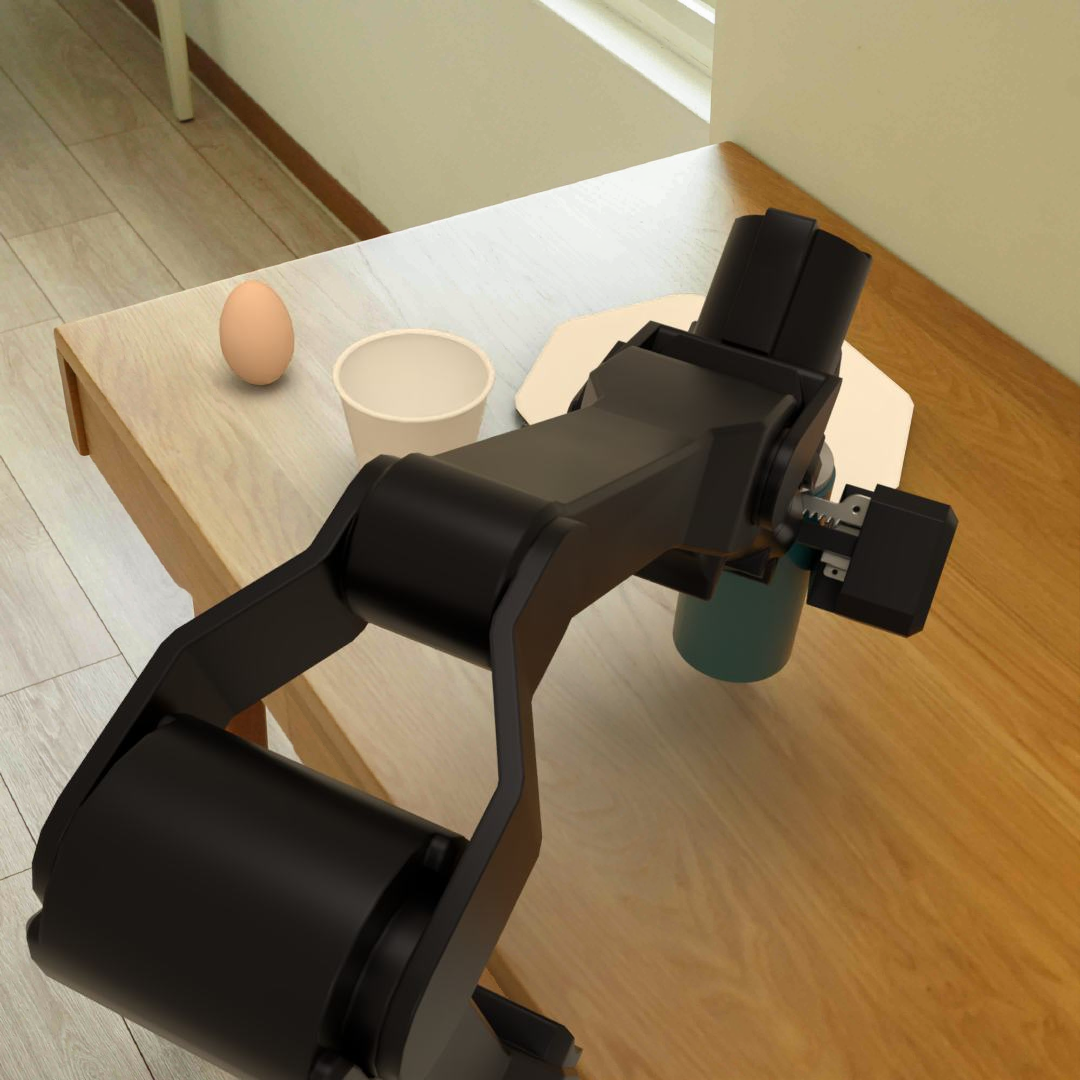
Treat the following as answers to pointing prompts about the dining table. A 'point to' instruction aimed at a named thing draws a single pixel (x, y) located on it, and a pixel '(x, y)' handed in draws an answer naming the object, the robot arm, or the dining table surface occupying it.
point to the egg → (256, 333)
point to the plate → (582, 343)
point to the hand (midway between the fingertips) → (758, 535)
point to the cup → (412, 392)
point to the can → (751, 611)
